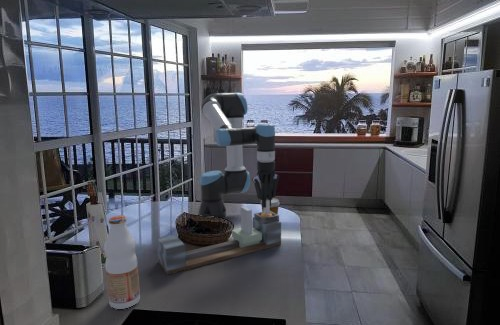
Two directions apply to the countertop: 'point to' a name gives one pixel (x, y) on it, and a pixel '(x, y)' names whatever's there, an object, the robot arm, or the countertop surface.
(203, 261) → the rail bench
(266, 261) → the countertop surface
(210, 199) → the robot arm
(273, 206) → the disposable coffee cup
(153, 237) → the countertop surface
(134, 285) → the fruit juice
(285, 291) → the countertop surface
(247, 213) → the block
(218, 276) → the countertop surface
